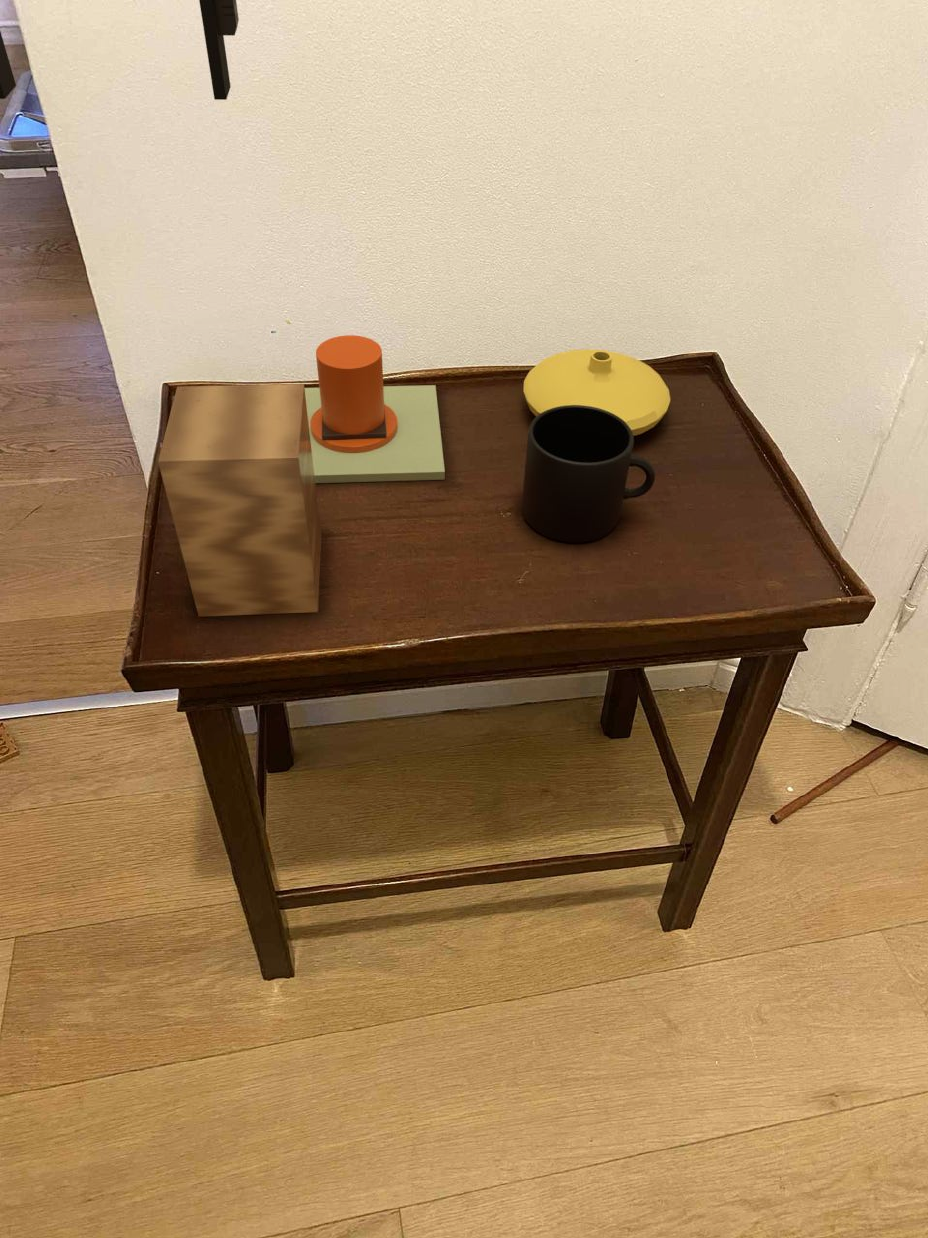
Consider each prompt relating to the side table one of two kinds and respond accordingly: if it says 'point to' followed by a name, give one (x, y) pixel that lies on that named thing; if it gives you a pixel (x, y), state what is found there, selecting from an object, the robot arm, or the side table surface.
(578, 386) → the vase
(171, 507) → the block
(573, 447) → the mug
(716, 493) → the side table surface
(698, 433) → the side table surface
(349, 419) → the hat
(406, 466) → the mat
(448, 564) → the side table surface
